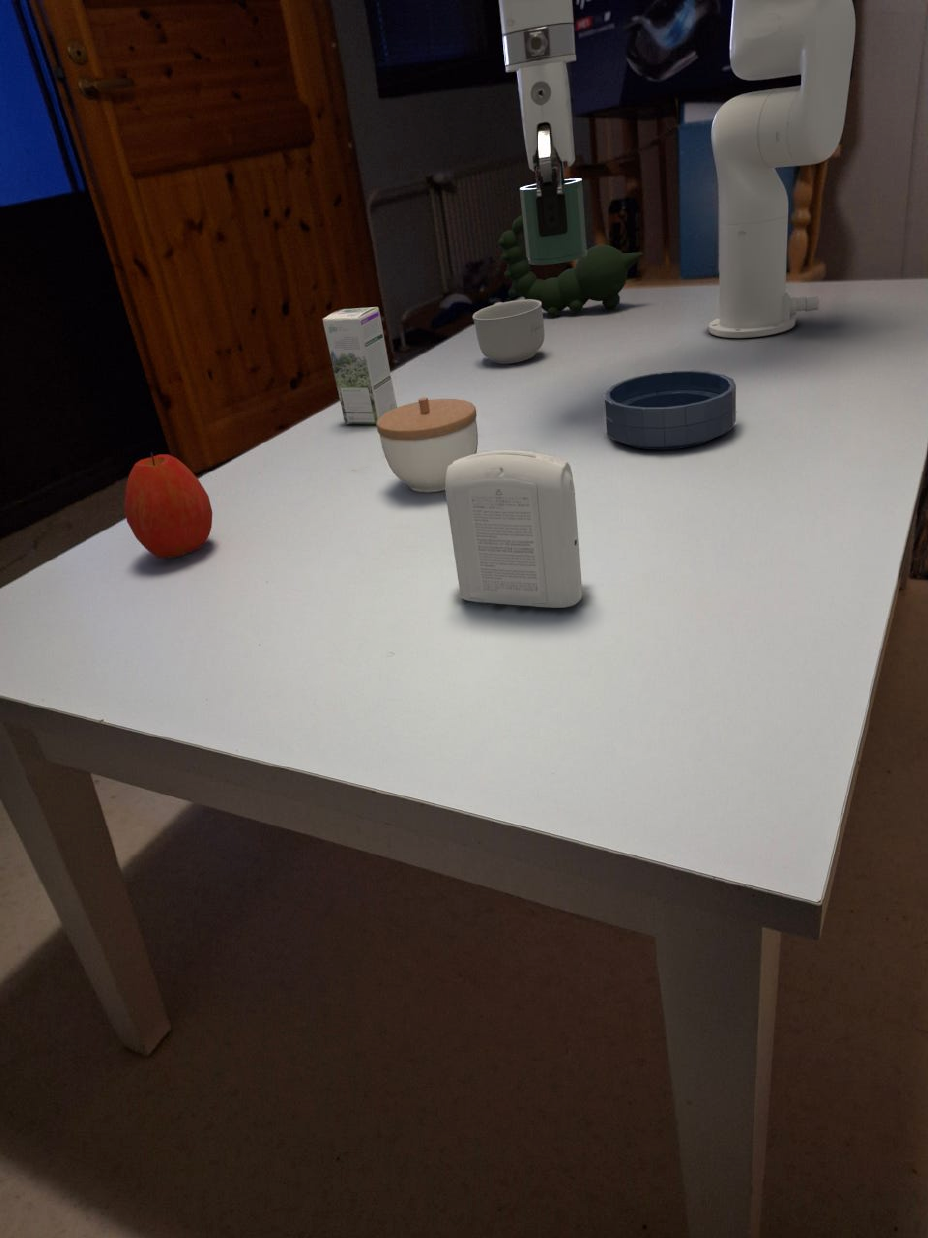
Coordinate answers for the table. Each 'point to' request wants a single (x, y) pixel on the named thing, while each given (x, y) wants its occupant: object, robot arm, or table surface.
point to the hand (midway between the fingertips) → (555, 229)
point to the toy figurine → (567, 276)
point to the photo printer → (514, 529)
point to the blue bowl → (670, 409)
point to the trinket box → (427, 440)
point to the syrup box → (360, 364)
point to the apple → (167, 507)
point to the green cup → (557, 245)
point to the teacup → (510, 330)
